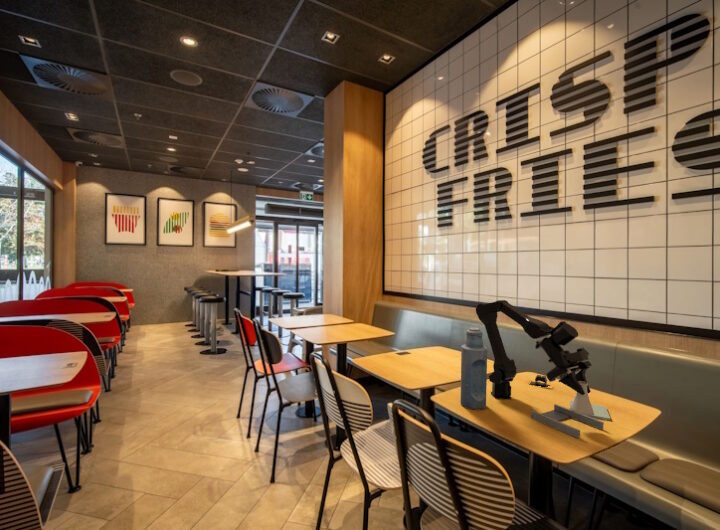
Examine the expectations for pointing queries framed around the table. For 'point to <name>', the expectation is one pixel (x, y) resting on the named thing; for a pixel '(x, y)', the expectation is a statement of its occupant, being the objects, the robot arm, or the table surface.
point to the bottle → (473, 370)
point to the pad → (599, 412)
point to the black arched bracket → (536, 383)
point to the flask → (582, 402)
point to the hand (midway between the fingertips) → (586, 393)
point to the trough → (562, 414)
